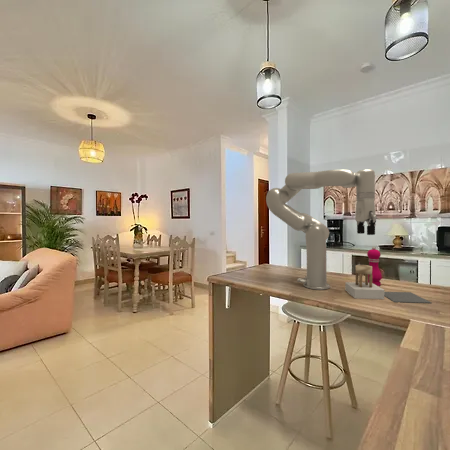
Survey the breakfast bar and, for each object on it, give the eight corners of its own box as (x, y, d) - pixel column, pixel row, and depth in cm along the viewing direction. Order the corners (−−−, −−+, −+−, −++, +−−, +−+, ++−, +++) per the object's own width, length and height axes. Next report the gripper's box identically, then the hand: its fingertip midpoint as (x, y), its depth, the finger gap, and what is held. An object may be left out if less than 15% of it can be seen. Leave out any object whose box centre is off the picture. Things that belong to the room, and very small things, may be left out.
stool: (358, 287, 113) (358, 267, 112) (353, 283, 119) (353, 264, 119) (374, 288, 112) (374, 267, 112) (368, 284, 118) (368, 264, 118)
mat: (394, 302, 105) (394, 301, 105) (378, 292, 119) (378, 291, 119) (431, 303, 103) (431, 302, 103) (410, 293, 117) (410, 292, 117)
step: (354, 298, 110) (354, 289, 110) (345, 290, 122) (345, 282, 122) (384, 299, 109) (384, 289, 109) (371, 291, 121) (371, 282, 121)
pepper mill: (384, 286, 128) (384, 247, 127) (368, 286, 129) (368, 247, 129) (378, 283, 135) (378, 245, 134) (363, 282, 136) (363, 245, 136)
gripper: (349, 198, 126) (349, 233, 126) (366, 195, 109) (366, 235, 109) (364, 198, 125) (365, 232, 126) (384, 195, 108) (384, 235, 109)
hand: (365, 234), depth 117 cm, fingers open, 9 cm apart
